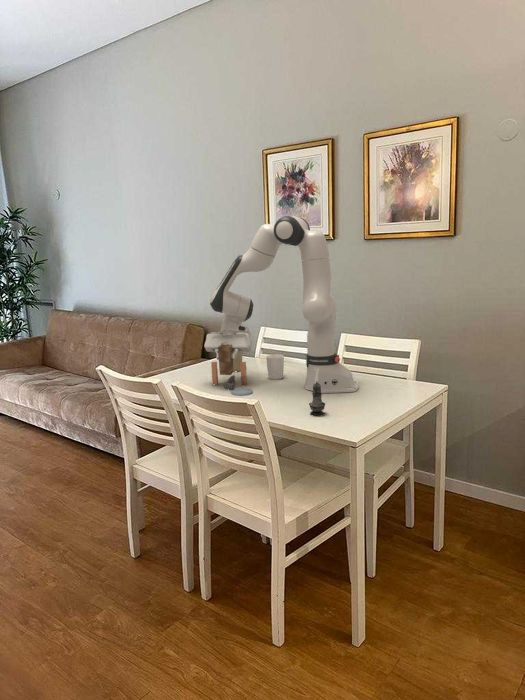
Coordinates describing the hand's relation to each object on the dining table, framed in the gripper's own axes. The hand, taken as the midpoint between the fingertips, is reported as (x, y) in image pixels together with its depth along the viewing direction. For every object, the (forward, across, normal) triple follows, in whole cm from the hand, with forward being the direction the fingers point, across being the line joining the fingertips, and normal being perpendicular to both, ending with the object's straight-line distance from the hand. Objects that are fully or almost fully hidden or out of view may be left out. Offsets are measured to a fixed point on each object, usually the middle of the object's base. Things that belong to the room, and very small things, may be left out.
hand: (225, 359), depth 219 cm
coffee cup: (-13, -6, +32) cm, 35 cm away
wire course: (+6, 0, +12) cm, 14 cm away
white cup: (-4, +18, +23) cm, 29 cm away
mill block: (+4, 0, +5) cm, 6 cm away
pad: (+13, +8, +5) cm, 16 cm away
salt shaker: (+30, +42, -11) cm, 52 cm away
